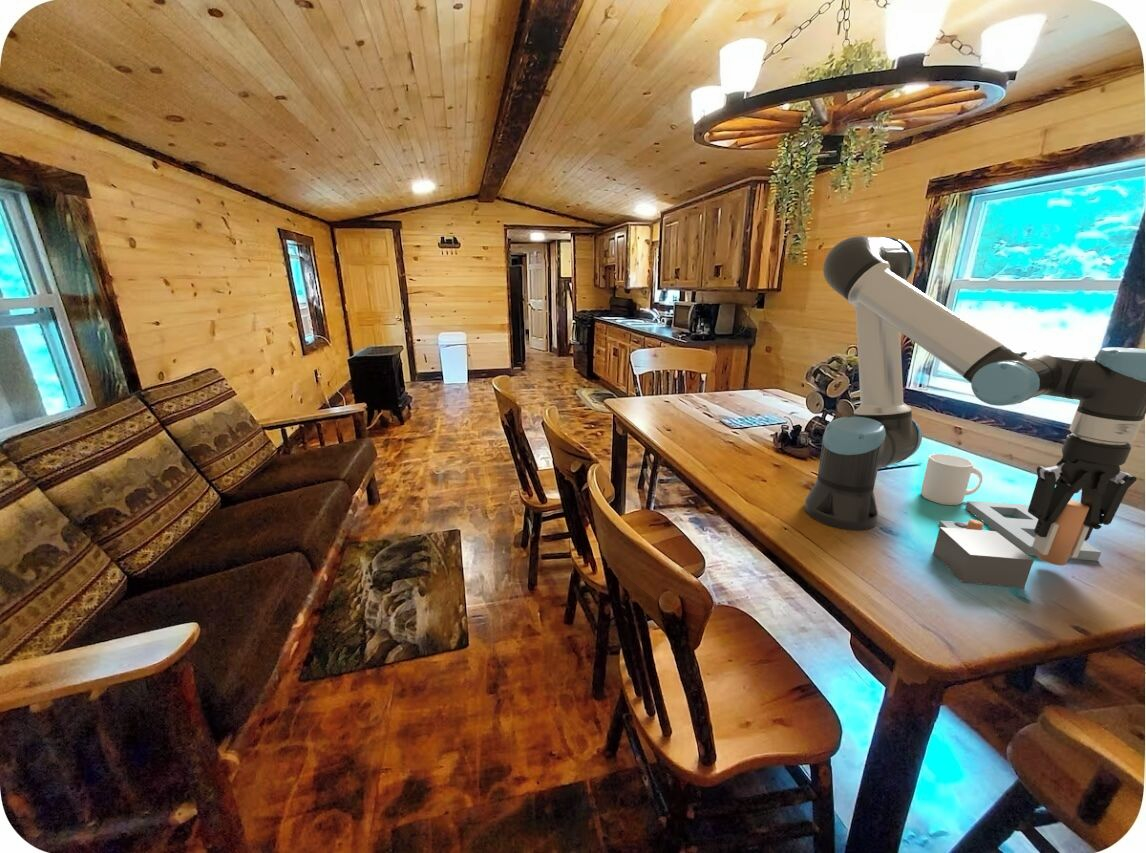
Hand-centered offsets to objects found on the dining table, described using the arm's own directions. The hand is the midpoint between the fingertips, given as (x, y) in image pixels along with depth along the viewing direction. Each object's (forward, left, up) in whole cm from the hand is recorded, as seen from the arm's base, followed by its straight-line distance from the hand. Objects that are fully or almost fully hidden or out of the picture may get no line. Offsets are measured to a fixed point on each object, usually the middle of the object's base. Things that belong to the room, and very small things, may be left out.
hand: (1054, 551), depth 85 cm
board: (-8, +12, -4) cm, 14 cm away
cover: (-14, -2, -4) cm, 14 cm away
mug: (-2, +30, -4) cm, 30 cm away
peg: (0, 0, -2) cm, 2 cm away
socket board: (+5, +15, -4) cm, 16 cm away
